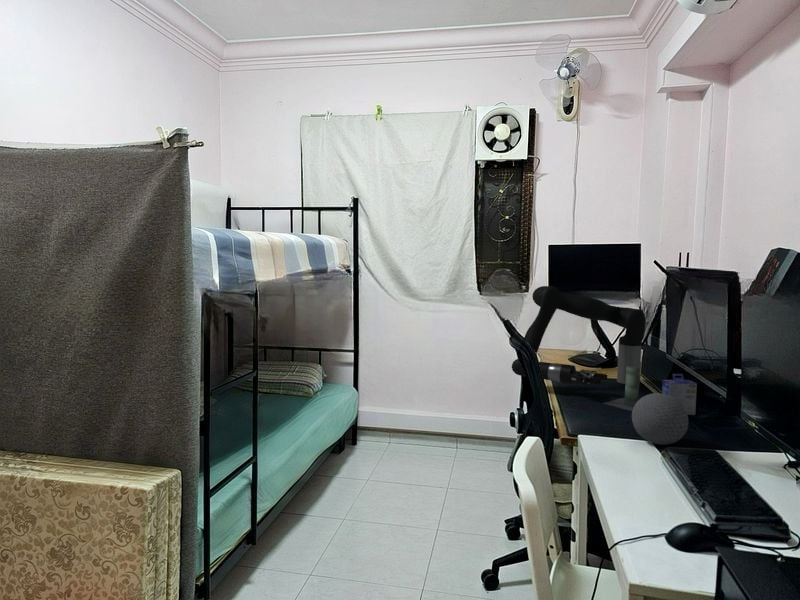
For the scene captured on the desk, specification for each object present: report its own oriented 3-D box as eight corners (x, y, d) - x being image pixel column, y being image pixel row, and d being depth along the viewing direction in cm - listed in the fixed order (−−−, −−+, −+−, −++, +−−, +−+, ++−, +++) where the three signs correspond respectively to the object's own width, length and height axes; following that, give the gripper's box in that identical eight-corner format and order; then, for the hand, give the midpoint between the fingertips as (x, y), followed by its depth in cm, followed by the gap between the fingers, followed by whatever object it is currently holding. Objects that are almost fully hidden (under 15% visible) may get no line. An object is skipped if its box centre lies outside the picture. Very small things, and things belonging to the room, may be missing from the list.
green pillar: (628, 402, 188) (630, 365, 187) (640, 405, 185) (642, 368, 183) (621, 404, 186) (623, 367, 185) (633, 407, 182) (635, 369, 181)
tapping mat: (624, 399, 195) (624, 397, 195) (659, 409, 183) (659, 406, 183) (602, 405, 187) (602, 402, 187) (638, 415, 176) (638, 412, 175)
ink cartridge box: (687, 412, 180) (690, 373, 178) (696, 417, 174) (698, 376, 173) (659, 412, 180) (662, 372, 179) (667, 417, 174) (670, 376, 173)
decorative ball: (671, 457, 139) (674, 404, 138) (620, 440, 151) (623, 392, 150) (696, 445, 148) (699, 396, 147) (646, 431, 160) (649, 385, 159)
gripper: (556, 367, 194) (599, 373, 184) (567, 361, 205) (609, 366, 196) (555, 386, 194) (598, 393, 185) (567, 379, 206) (608, 385, 196)
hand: (604, 379), depth 190 cm, fingers open, 8 cm apart
